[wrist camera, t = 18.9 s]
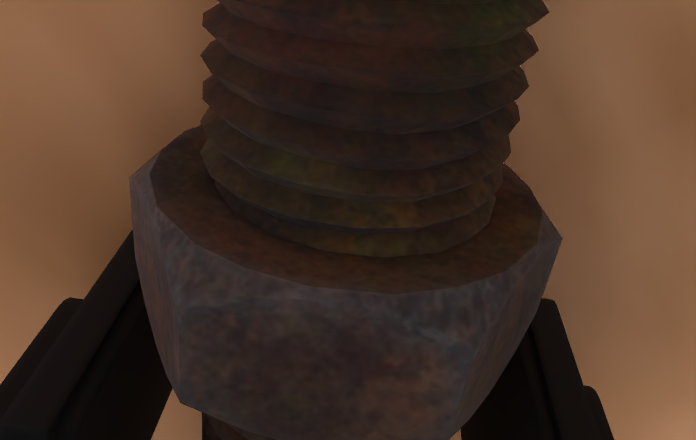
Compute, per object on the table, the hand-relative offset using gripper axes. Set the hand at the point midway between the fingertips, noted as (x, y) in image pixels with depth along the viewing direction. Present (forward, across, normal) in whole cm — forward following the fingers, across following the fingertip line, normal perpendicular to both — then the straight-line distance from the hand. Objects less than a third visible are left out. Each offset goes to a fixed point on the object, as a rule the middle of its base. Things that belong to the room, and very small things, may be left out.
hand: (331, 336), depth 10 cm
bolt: (+1, 0, 0) cm, 1 cm away
